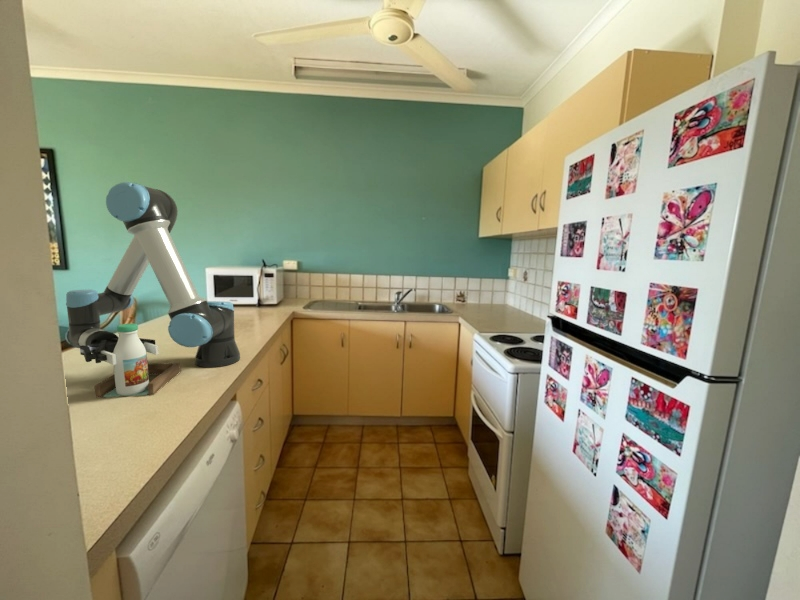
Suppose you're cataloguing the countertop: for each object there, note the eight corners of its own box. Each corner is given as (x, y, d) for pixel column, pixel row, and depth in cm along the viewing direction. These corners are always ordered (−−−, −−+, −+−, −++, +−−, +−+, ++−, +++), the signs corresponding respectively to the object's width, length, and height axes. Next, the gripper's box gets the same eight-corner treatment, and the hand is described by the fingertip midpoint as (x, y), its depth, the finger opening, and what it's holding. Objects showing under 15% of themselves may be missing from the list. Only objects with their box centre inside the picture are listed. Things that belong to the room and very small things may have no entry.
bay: (180, 372, 115) (179, 362, 115) (153, 394, 98) (152, 383, 97) (132, 373, 112) (131, 363, 112) (95, 397, 95) (94, 385, 94)
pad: (158, 385, 104) (158, 384, 104) (147, 395, 97) (147, 394, 97) (117, 387, 102) (117, 386, 102) (103, 397, 95) (103, 396, 95)
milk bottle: (113, 398, 94) (106, 329, 91) (120, 387, 101) (113, 322, 98) (146, 393, 98) (141, 327, 95) (151, 383, 105) (146, 321, 101)
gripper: (141, 345, 116) (178, 357, 106) (52, 363, 97) (87, 379, 87) (139, 324, 115) (177, 334, 105) (49, 338, 96) (84, 351, 85)
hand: (136, 354), depth 96 cm, fingers open, 10 cm apart
